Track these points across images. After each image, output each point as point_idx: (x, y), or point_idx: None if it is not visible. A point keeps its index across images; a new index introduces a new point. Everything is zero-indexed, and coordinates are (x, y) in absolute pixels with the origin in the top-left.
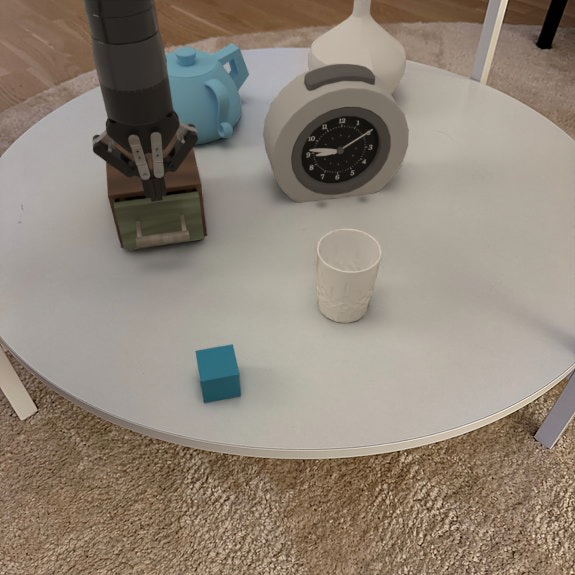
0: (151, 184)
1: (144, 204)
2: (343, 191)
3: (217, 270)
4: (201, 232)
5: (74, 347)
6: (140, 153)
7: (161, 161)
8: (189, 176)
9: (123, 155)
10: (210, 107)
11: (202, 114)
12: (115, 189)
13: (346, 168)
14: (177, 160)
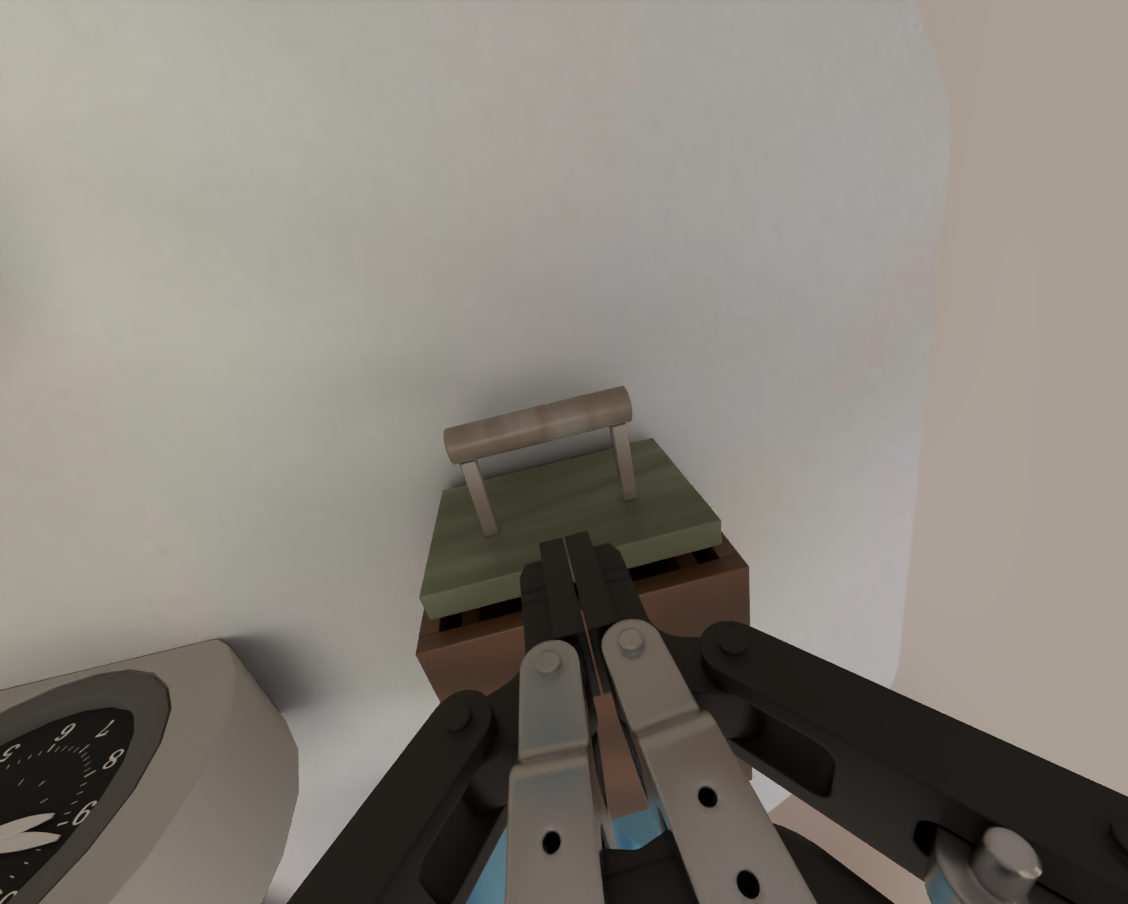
0: (591, 600)
1: (616, 544)
2: (73, 686)
3: (385, 382)
4: (444, 502)
5: (773, 41)
6: (712, 856)
7: (522, 774)
8: (468, 678)
9: (794, 775)
10: (482, 887)
11: (502, 862)
12: (723, 595)
13: (10, 768)
14: (410, 792)
